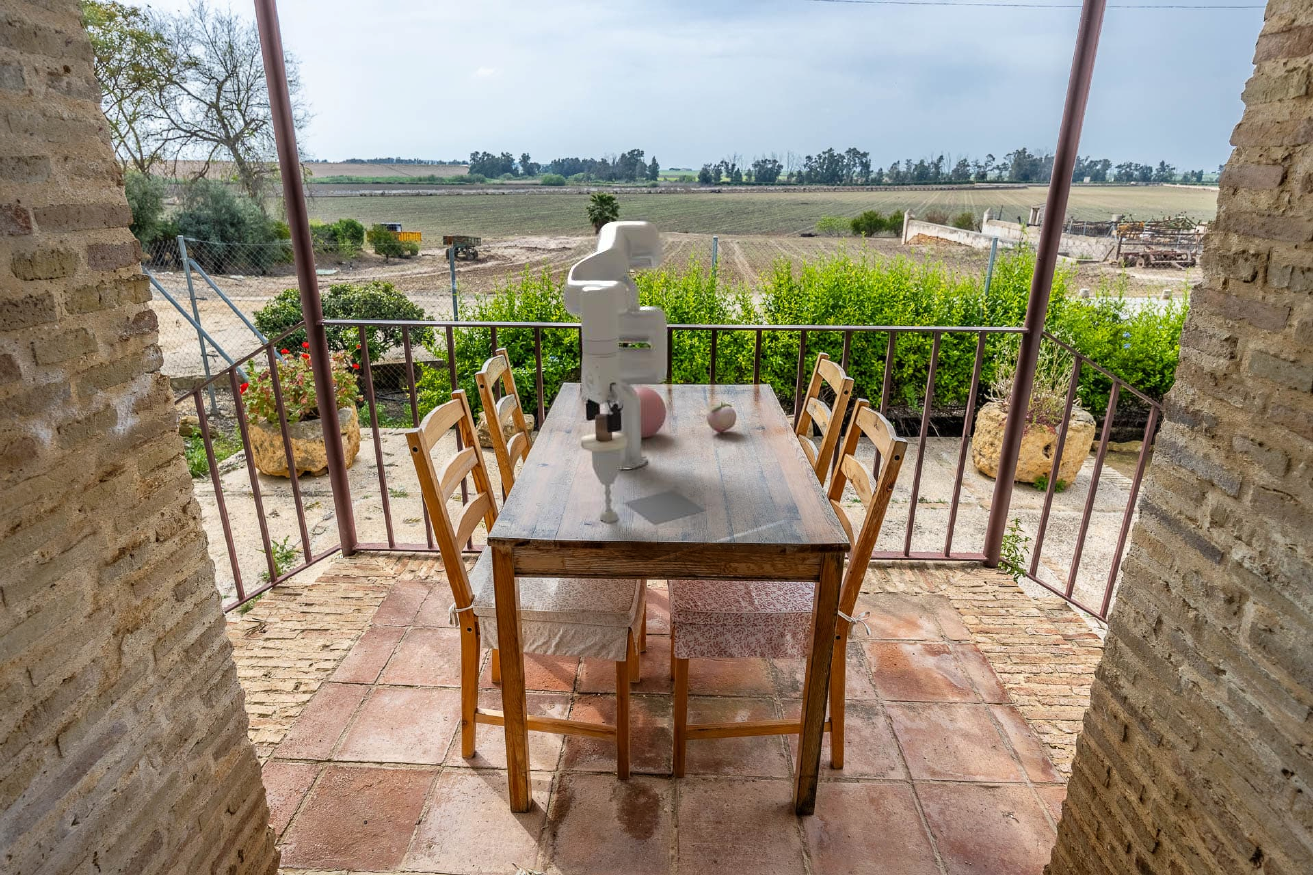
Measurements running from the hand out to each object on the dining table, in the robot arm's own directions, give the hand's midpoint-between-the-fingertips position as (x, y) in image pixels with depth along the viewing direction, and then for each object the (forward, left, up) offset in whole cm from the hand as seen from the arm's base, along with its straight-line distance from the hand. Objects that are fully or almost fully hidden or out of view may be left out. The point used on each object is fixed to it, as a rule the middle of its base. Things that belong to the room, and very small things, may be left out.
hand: (603, 425), depth 150 cm
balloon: (-48, +37, -23) cm, 65 cm away
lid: (0, 0, -4) cm, 4 cm away
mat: (+2, +14, -22) cm, 26 cm away
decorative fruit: (-35, +58, -23) cm, 71 cm away
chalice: (+1, 0, -23) cm, 23 cm away
